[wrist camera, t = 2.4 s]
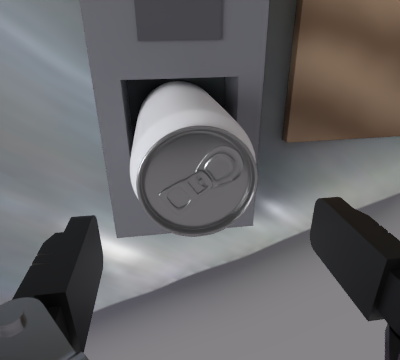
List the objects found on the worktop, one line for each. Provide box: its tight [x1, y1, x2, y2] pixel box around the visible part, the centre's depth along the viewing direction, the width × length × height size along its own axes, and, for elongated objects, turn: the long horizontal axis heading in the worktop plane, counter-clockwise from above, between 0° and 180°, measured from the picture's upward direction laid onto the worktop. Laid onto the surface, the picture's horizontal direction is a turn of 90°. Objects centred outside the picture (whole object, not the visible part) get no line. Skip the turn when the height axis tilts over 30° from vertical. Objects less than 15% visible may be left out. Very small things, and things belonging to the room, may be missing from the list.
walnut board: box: [282, 0, 400, 143], centre depth 24 cm, size 16×16×1 cm
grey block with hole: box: [79, 0, 269, 238], centre depth 21 cm, size 24×11×5 cm, turn 1°
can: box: [130, 81, 258, 237], centre depth 19 cm, size 6×6×12 cm
